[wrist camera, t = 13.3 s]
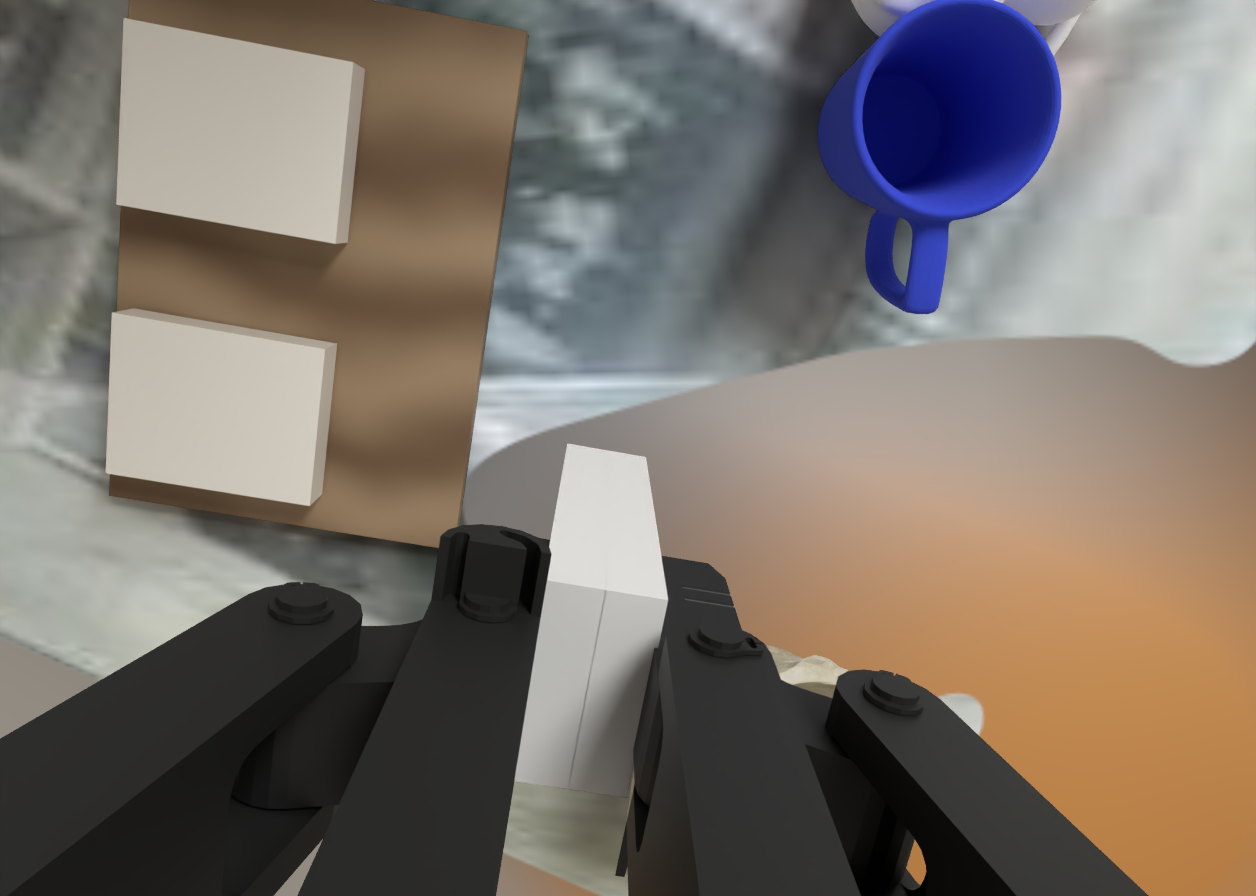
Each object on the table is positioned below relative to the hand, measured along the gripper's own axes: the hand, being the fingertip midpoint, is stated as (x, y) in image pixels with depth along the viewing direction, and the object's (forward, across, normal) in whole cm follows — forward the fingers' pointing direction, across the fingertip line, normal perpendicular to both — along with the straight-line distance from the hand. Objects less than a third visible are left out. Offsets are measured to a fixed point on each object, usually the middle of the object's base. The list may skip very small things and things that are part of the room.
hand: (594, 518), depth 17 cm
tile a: (+28, -13, +6) cm, 31 cm away
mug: (+31, +12, +10) cm, 34 cm away
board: (+30, -15, 0) cm, 34 cm away
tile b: (+28, -13, -7) cm, 32 cm away
